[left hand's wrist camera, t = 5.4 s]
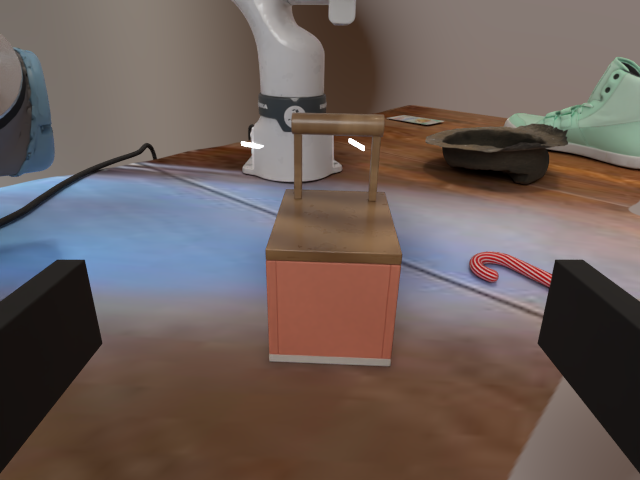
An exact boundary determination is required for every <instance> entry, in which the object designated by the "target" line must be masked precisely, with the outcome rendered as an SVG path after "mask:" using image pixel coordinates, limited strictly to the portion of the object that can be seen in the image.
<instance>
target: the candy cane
mask: <svg viewBox="0 0 640 480" xmlns="http://www.w3.org/2000/svg"><path fill="white" fill-rule="evenodd" d="M488 263H491V264H499V265H503V266H506V267H508V268H510V269H512V270H514V271H516V272H518V273H520V274H522V275H524V276H527V277H529V278H531V279H533V280H535V281H537V282H539V283H541V284H543V285H545V286H547V287H550V283H551V278H552V274H550V273H548V272H546V271H544V270H541V269H539V268H537V267H535V266H533V265H530V264H528V263H526V262H524V261H522V260H519V259H517V258H515V257H513V256H510V255H507V254H504V253H499V252H482V253H478V254H476V255H474V256H473V257H472V258H471V260H470V263H469V265H470V269H471V270H472V272H473V273H474V274H475V275H477V276H478V277H480V278H482V279H484V280H486V281H489V282H495V281H497V280H498V277H499V276H498V273H497V271H495V270H493V269H490V268H488V267H486V266H484V265H483V264H488Z"/></svg>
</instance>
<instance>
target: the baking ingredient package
mask: <svg viewBox="0 0 640 480" xmlns="http://www.w3.org/2000/svg"><path fill="white" fill-rule="evenodd" d="M388 119H395V120H401V121H407V122H414V123H420V124H426V125H428V124H434V123H439V122H444V121H439V120H433V119H426V118H419V117H413V116H406V115H403V116H396V117H390V118H388Z"/></svg>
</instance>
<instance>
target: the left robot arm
mask: <svg viewBox="0 0 640 480" xmlns="http://www.w3.org/2000/svg"><path fill="white" fill-rule="evenodd" d="M147 147H148V148H149V149H150V151H151V154H152V157H153V160H155V159H157V156H156V153H155V150H154V148H153V147H152V145H150V144H148V143H145V144H144V145H143V146H142V147H141V148H140V149H139V150H137V151H135V152H132V153H129V154H126V155H123V156H120V157H117V158H114V159H111V160H108V161H106V162H103V163H100V164H98V165H95V166H93V167H90V168H88V169H86V170H84V171H81V172H79V173H77V174H75V175H73V176H71V177H69V178H68V179H66V180H64V181H62V182H61V183H59V184H57V185H56V186H54V187H52V188H51V189H49V190H48V191H46V192H45V193H43V194H42V195H40V196H39V197H37V198H36V199H34V200H33V201H31V202H30V203H29V204H27V205H26V206H24V207H23V208H21V209H19V210H18V211H16V212H14V213H12V214H10V215H7V216H5V217H3V218H1V219H0V226H3V225H5V224H7V223H9V222H11V221H13V220H15V219H17V218H19V217H21V216H23V215H24V214H26V213H28V212H29V211H31V210H32V209H33V208H35V207H36V206H37V205H39V204H40V203H41V202H43V201H44V200H46V199H47V198H49V197H50V196H52V195H53V194H55V193H56V192H57V191H59V190H60V189H62V188H64V187H65V186H67V185H69V184H70V183H72V182H74V181H76V180H78V179H79V178H81V177H83V176H85V175H87V174H90V173H92V172H94V171H96V170H99V169H101V168H104V167H106V166H109V165H111V164H114V163H117V162H120V161H122V160H126V159H129V158H132V157H134V156H137V155H139V154H141V153H142V152H143V151H144V150H145V149H146V148H147ZM53 160H54V138H53V131H52V127H51V114H50V107H49V101H48V95H47V90H46V85H45V80H44V75H43V71H42V67H41V64H40V61H39V59H38V57H37V56H36V55H35V54H34V53H33V52H31V51H28V50H21V49H19V48H13V47H12V46H11V44H10V43H9V42H8V41H7V39H6V38H5V37H4V36H3V35H2V34H0V176H8V175H9V176H11V177H17V176H20V175H22V174H24V173H31V172H37V171H43V170H45V169H47V168H48V167H50V166H51V164H52V163H53ZM101 345H102V339H101V335H100V330H99V325H98V320H97V316H96V311H95V306H94V302H93V297H92V292H91V287H90V283H89V278H88V273H87V268H86V264H85V260H56V261H55V262H54V263H52V264H51V265H49V266H48V267H47V268H45V269H44V270H43V271H41V272H40V273H39V274H37V275H36V276H34V277H33V278H32V279H30V280H29V281H28V282H26V283H25V284H24V285H22V286H21V287H19V288H18V289H17V290H15V291H14V292H13V293H11V294H10V295H9V296H7V297H6V298H5V299H3V300H2V301H0V473H1V472H2V470H3V469H4V468H5V467H6V465H7V464H8V463H9V462H10V460H11V459H12V458H13V456H14V455H15V454H16V453H17V451H18V450H19V449H20V448H21V446H22V445H23V444H24V442H25V441H26V440H27V439H28V437H29V436H30V435H31V434H32V432H33V431H34V430H35V428H36V427H37V426H38V425H39V423H40V422H41V421H42V420H43V418H44V417H45V416H46V414H47V413H48V412H49V411H50V409H51V408H52V407H53V406H54V404H55V403H56V402H57V400H58V399H59V398H60V397H61V395H62V394H63V393H64V392H65V390H66V389H67V388H68V387H69V385H70V384H71V383H72V381H73V380H74V379H75V378H76V376H77V375H78V374H79V373H80V371H81V370H82V369H83V367H84V366H85V365H86V364H87V362H88V361H89V360H90V359H91V357H92V356H93V355H94V353H95V352H96V351H97V350H98V348H99V347H100V346H101ZM538 345H539V346H540V347H541V348H542V350H543V351H544V352H545V353H546V355H547V356H548V357H549V359H550V360H551V361H552V362H553V364H554V365H555V366H556V367H557V369H558V370H559V371H560V373H561V374H562V375H563V376H564V378H565V379H566V380H567V381H568V383H569V384H570V385H571V387H572V388H573V389H574V390H575V392H576V393H577V394H578V395H579V397H580V398H581V399H582V400H583V402H584V403H585V404H586V406H587V407H588V408H589V409H590V411H591V412H592V413H593V414H594V416H595V417H596V418H597V420H598V421H599V422H600V423H601V425H602V426H603V427H604V428H605V430H606V431H607V432H608V434H609V435H610V436H611V437H612V439H613V440H614V441H615V442H616V444H617V445H618V446H619V447H620V449H621V450H622V451H623V453H624V454H625V455H626V456H627V458H628V459H629V460H630V462H631V463H632V464H633V465H634V467H635V468H636V469H637V470H638V472H639V473H640V301H638V300H637V299H635V298H634V297H633V296H631V295H630V294H629V293H627V292H626V291H625V290H623V289H622V288H621V287H619V286H618V285H616V284H615V283H614V282H612V281H611V280H610V279H608V278H607V277H606V276H604V275H603V274H601V273H600V272H599V271H597V270H596V269H595V268H593V267H592V266H591V265H589V264H588V263H586V262H585V261H584V260H555V264H554V268H553V273H552V278H551V283H550V287H549V292H548V297H547V302H546V306H545V311H544V316H543V320H542V325H541V330H540V335H539V339H538Z"/></svg>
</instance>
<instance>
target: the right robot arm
mask: <svg viewBox="0 0 640 480" xmlns="http://www.w3.org/2000/svg"><path fill="white" fill-rule="evenodd" d="M232 1H233V2H234V3H235V4H236V5H237V6H238V8H239V9H240V10H241V11H242V13H243V14H244V16H245V17H246V19H247V21H248V23H249V25H250V27H251V29H252V32H253V34H254V37H255V41H256V44H257V50H258V58H259V68H260V83H261V93H260V94H259V101H258V106H259V114H260V115H261V116H260V118H259V121H258V122H257V123H256V124H255V125H253V124H252V125H250V126H249V128H248V141H249V140H251V143H247V142H241V145H242V146H248V147H252V149H251V153H252V156H251V157H250V159H249V160H248V161H247V162H246V164H245V165H244V166H243V171H242V172H243V173H246V174H251V175H256V176H259V177H262V178H265V179H268V180H274V181H282V182H294V134H292V130H291V118H292V113H293V112H295V113H326V106H327V102H326V95H325V94H324V50H323V47H322V45H321V43H320V41H319V40H318V39H317V38H316V37H315V36H314V35H312V34H311V33H309V32H308V31H306V30H304V29H303V28H301V27H299V26H298V25H297V24H296V22H295V20H294V18H293V15H292V5H294V4H301V5H302V4H303V5H329V19H330V21H331V22H332V23H333V24H334V25H348V24H350V23H352V22H353V21H354V19H355V8H356V0H232ZM251 128H252V131H251ZM349 143H351V144H352V145H354V146H356V147H358V148H359V149H361V150H363V151H364V148H365V146H363V145H361V144H359V143H358V142H356V141H354V140H352V139H349ZM340 171H342V165H341V164H339V163H338V162H337V161H335V160H334V135H302V182H303V181H312V180H317V179H321V178H324V177H326V176H328V175H330V174H332V173H336V172H340Z"/></svg>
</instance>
